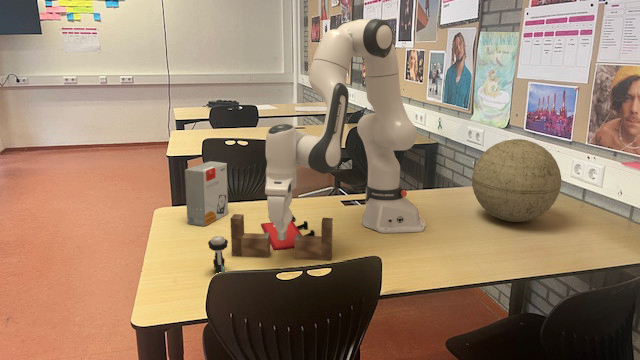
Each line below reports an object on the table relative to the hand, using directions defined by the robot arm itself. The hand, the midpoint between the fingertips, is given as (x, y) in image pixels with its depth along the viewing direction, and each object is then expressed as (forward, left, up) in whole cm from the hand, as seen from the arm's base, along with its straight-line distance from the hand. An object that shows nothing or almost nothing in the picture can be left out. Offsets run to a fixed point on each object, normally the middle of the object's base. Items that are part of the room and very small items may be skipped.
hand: (281, 225), depth 143 cm
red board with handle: (+2, -20, -10) cm, 23 cm away
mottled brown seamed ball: (-79, -41, -10) cm, 90 cm away
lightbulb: (0, 0, -5) cm, 5 cm away
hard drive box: (+32, -29, -10) cm, 44 cm away
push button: (+16, +12, -10) cm, 22 cm away
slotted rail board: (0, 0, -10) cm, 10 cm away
